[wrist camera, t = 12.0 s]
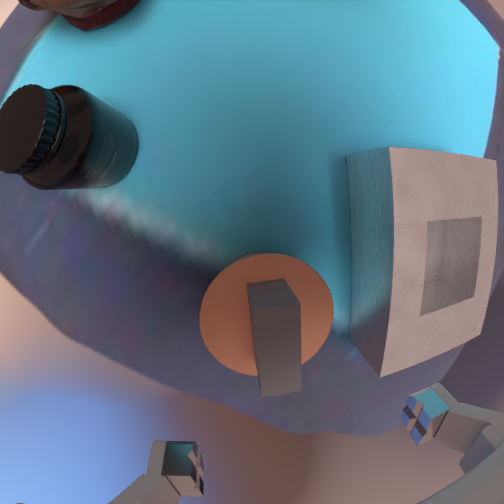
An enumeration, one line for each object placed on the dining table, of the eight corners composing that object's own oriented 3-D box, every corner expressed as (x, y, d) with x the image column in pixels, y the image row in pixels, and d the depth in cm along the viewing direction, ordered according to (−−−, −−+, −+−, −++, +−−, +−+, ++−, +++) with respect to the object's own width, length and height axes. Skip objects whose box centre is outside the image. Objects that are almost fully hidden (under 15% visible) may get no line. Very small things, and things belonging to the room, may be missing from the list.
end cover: (198, 244, 23) (178, 286, 13) (306, 232, 23) (361, 264, 13) (213, 340, 25) (210, 419, 15) (309, 327, 25) (350, 396, 15)
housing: (346, 156, 22) (389, 146, 15) (450, 161, 23) (495, 160, 16) (349, 338, 26) (379, 377, 19) (444, 310, 27) (480, 334, 20)
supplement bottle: (123, 99, 19) (53, 41, 7) (151, 162, 21) (82, 138, 9) (64, 140, 19) (-26, 121, 8) (88, 202, 21) (-4, 219, 9)
